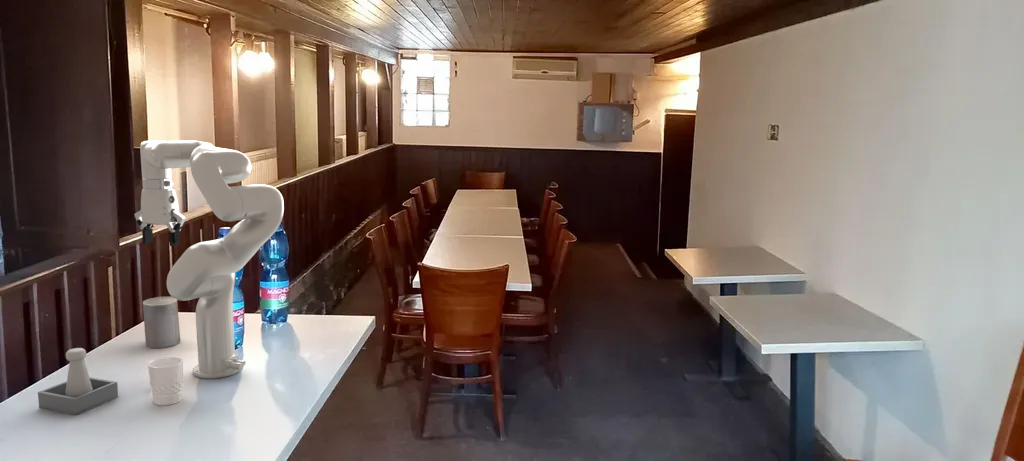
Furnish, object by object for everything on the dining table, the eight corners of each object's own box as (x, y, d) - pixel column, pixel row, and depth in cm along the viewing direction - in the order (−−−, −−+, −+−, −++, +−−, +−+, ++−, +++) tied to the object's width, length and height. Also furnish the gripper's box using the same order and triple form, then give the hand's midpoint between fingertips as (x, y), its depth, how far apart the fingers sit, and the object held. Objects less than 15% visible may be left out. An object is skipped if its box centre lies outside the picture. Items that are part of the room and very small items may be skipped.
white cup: (192, 396, 188) (189, 359, 186) (168, 408, 181) (166, 369, 179) (167, 392, 191) (165, 355, 189) (143, 403, 183) (140, 365, 182)
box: (118, 397, 187) (117, 381, 186) (76, 415, 176) (74, 399, 175) (82, 390, 191) (81, 375, 190) (39, 407, 180) (37, 392, 179)
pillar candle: (158, 337, 234) (154, 291, 232) (186, 339, 233) (183, 293, 230) (138, 347, 225) (134, 300, 222) (168, 349, 223) (164, 301, 221)
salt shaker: (81, 405, 180) (76, 354, 178) (60, 403, 181) (55, 352, 179) (98, 396, 186) (94, 346, 184) (78, 394, 187) (74, 344, 185)
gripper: (191, 184, 210) (195, 244, 213) (144, 182, 216) (148, 239, 219) (171, 187, 203) (175, 248, 206) (123, 184, 209) (127, 244, 212)
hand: (161, 244), depth 212 cm, fingers open, 9 cm apart
